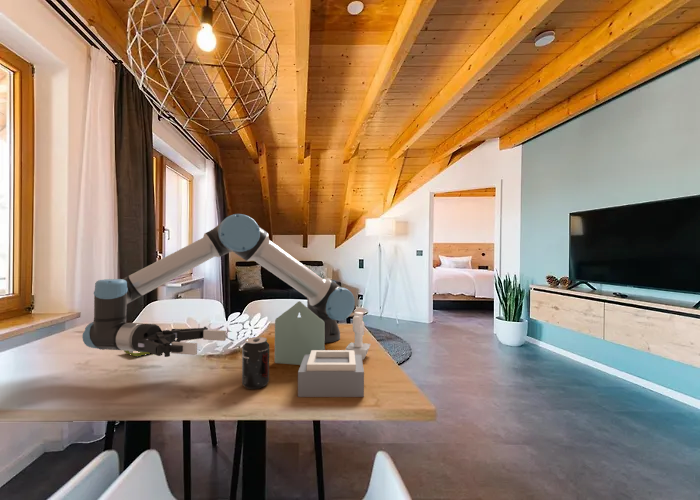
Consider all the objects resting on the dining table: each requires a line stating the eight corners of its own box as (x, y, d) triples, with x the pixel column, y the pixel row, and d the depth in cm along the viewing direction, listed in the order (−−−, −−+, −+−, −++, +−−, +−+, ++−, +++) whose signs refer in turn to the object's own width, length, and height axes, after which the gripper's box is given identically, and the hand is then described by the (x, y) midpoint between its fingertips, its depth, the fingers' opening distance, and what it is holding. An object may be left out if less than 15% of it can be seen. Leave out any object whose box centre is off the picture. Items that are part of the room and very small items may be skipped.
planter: (330, 358, 111) (331, 298, 111) (324, 367, 103) (324, 302, 103) (284, 355, 114) (284, 297, 114) (274, 363, 106) (274, 300, 107)
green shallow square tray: (161, 353, 117) (161, 347, 117) (134, 360, 110) (134, 353, 110) (149, 349, 122) (149, 343, 122) (122, 355, 114) (122, 349, 114)
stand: (304, 375, 96) (304, 349, 96) (361, 375, 96) (361, 349, 96) (297, 396, 82) (298, 365, 82) (363, 396, 82) (364, 365, 82)
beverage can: (271, 380, 92) (271, 336, 92) (266, 390, 85) (266, 343, 85) (245, 380, 92) (245, 336, 92) (238, 391, 85) (239, 343, 85)
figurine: (371, 353, 117) (371, 310, 117) (366, 362, 108) (366, 315, 108) (351, 352, 118) (351, 309, 118) (344, 360, 109) (344, 314, 109)
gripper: (171, 339, 105) (234, 343, 102) (100, 365, 81) (180, 372, 77) (171, 315, 106) (235, 318, 102) (101, 334, 81) (181, 339, 78)
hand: (211, 341), depth 90 cm, fingers open, 13 cm apart
